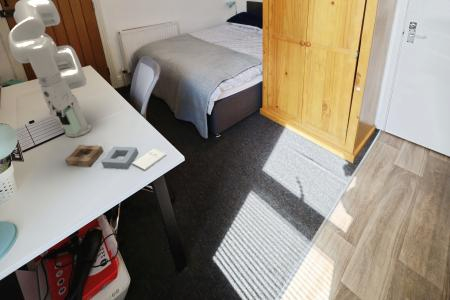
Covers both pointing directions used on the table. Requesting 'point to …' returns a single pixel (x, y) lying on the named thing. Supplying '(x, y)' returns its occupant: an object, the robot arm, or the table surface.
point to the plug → (71, 121)
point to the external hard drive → (149, 159)
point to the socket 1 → (88, 161)
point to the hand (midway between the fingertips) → (69, 121)
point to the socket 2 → (112, 162)
